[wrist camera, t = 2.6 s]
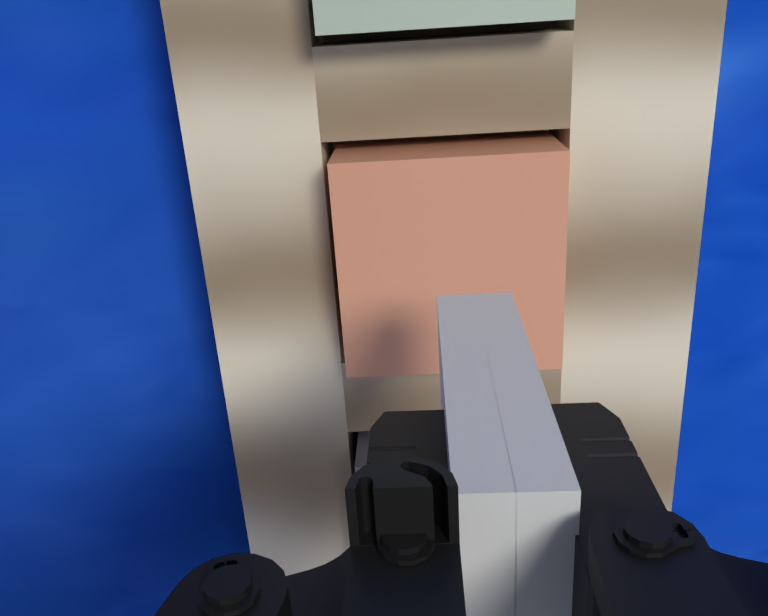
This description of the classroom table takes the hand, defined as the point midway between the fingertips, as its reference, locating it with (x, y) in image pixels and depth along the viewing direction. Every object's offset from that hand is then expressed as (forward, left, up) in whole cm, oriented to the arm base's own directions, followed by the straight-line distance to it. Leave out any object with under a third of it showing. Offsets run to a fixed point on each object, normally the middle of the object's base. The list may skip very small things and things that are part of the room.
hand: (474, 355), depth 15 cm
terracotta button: (0, 0, -8) cm, 8 cm away
